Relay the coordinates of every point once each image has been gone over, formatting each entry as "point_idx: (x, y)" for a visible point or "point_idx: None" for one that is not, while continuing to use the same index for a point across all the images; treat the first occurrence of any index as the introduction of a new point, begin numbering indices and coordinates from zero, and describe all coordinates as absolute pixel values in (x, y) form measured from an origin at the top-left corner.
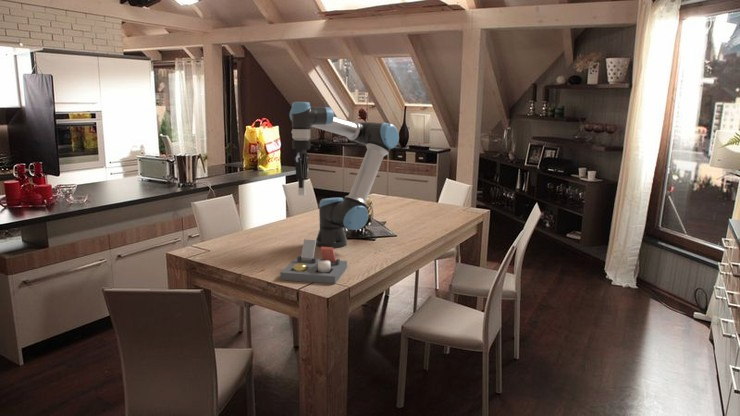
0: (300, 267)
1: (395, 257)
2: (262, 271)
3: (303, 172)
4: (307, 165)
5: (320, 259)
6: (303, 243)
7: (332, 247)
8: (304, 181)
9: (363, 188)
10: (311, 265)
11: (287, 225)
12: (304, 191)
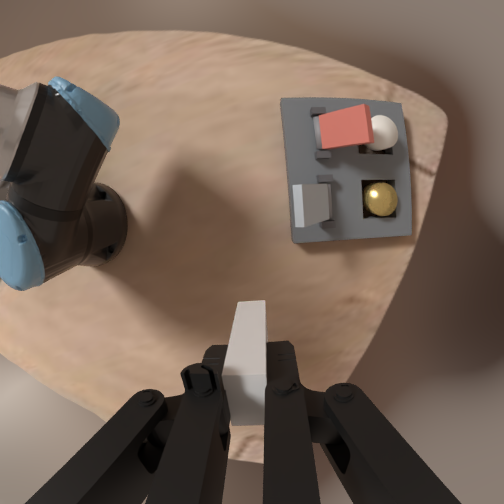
0: (395, 192)
1: (158, 37)
2: (359, 296)
3: (292, 455)
4: (56, 487)
5: (291, 171)
6: (311, 224)
7: (364, 106)
8: (262, 365)
9: None
10: (349, 178)
11: (41, 362)
12: (265, 313)
